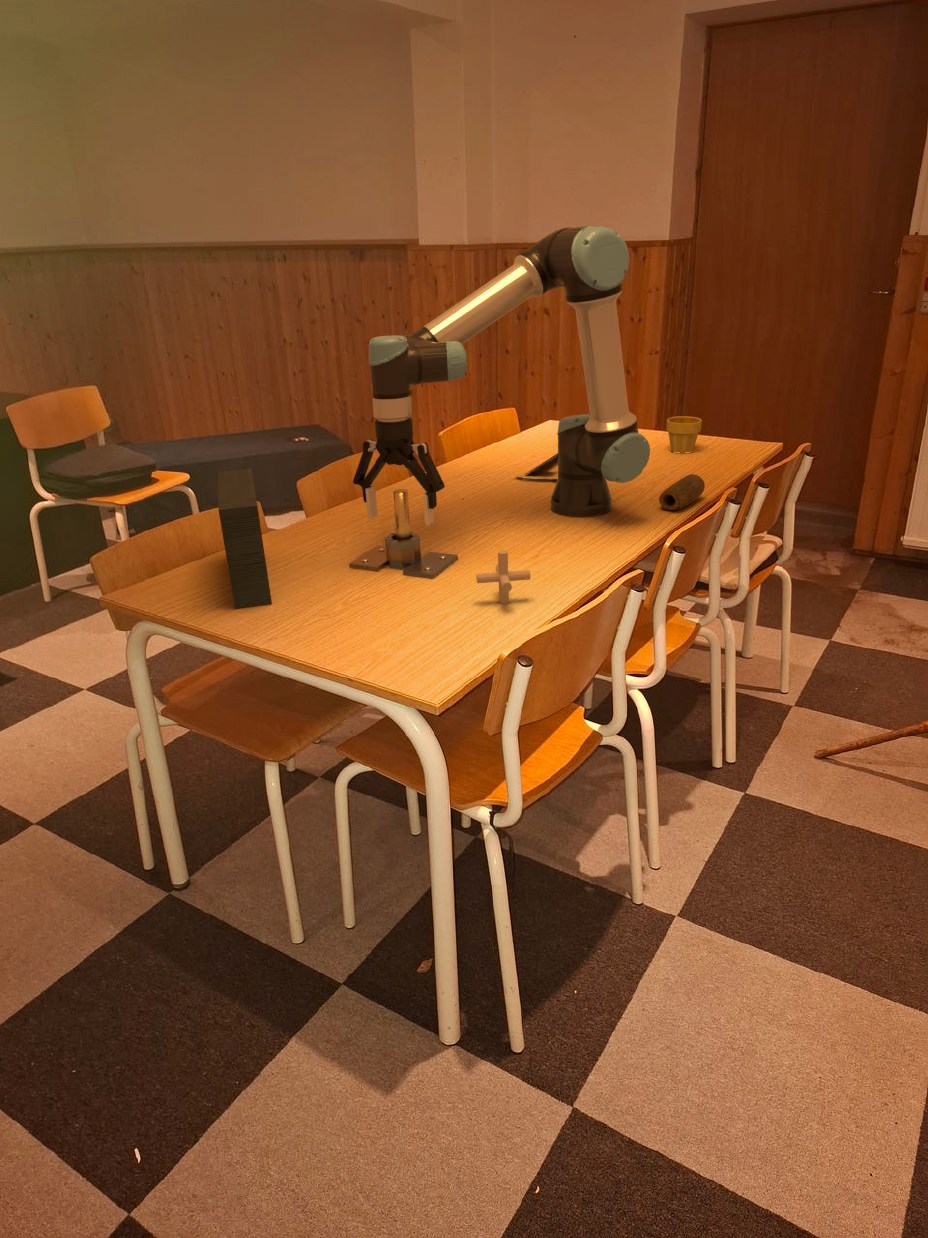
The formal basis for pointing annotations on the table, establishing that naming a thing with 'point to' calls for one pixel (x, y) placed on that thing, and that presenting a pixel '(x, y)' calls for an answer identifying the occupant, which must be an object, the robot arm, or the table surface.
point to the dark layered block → (243, 539)
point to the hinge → (404, 558)
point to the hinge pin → (401, 514)
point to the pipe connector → (503, 576)
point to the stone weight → (682, 492)
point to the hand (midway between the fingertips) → (400, 520)
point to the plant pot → (683, 432)
